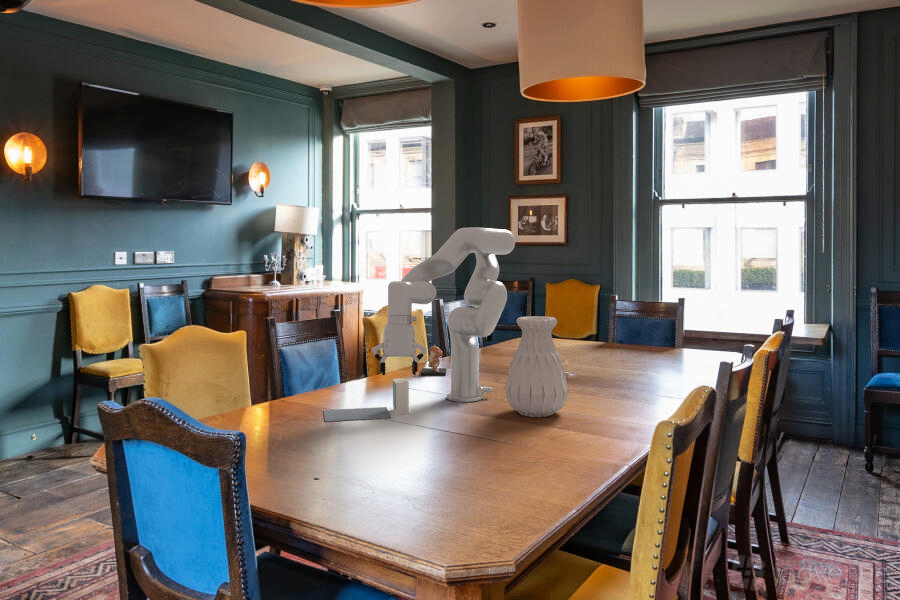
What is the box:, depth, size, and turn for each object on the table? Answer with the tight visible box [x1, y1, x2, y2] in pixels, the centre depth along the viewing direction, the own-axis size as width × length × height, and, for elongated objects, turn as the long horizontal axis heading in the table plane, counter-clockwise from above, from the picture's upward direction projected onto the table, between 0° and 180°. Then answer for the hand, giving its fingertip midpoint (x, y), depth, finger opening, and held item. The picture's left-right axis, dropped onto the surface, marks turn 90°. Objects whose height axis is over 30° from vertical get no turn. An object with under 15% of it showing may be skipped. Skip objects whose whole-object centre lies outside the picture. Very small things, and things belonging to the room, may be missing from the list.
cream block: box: [392, 377, 410, 416], centre depth 220 cm, size 4×7×10 cm, turn 12°
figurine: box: [420, 344, 447, 377], centre depth 284 cm, size 10×10×12 cm
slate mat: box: [323, 406, 392, 423], centre depth 216 cm, size 20×14×1 cm
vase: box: [504, 315, 569, 418], centre depth 216 cm, size 20×20×30 cm
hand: (398, 374), depth 219 cm, fingers open, 9 cm apart
